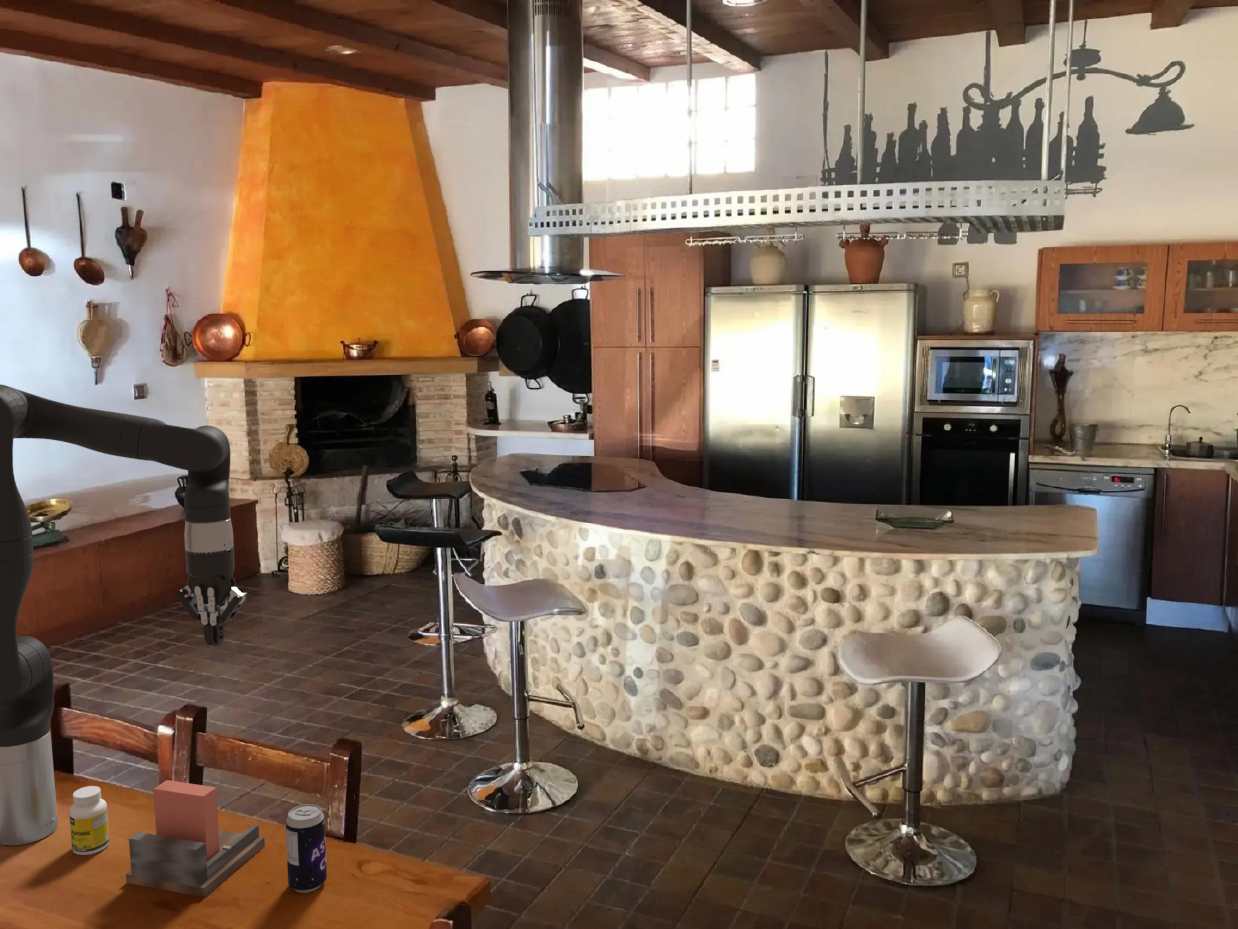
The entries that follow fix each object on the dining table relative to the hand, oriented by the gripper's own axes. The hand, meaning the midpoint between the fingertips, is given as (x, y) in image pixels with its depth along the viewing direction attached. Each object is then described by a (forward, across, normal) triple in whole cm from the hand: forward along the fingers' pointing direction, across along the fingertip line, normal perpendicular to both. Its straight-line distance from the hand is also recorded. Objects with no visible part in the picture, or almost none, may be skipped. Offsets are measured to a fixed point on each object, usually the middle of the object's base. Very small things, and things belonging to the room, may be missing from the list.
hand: (214, 644), depth 166 cm
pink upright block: (+29, +6, -17) cm, 34 cm away
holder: (+31, +6, -14) cm, 35 cm away
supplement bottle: (+31, -14, -15) cm, 37 cm away
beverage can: (+31, +26, -15) cm, 43 cm away
